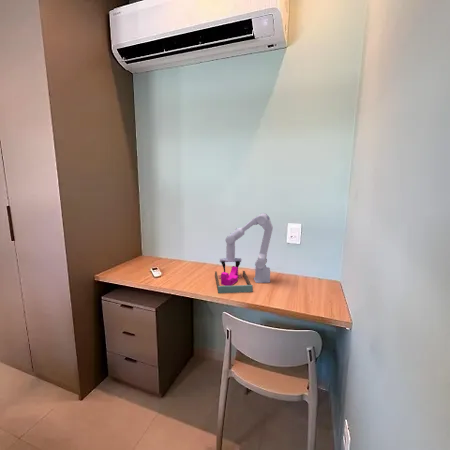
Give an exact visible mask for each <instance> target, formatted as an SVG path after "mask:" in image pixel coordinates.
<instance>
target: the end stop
mask: <svg viewBox="0 0 450 450" xmlns="http://www.w3.org/2000/svg"><path fill="white" fill-rule="evenodd" d="M253 286H254V285H252V284H251V285H247V284H244V285H243V284H237V285H234V284H233V285H231V286H225V285H220V286H218V290H217V293H218V294H233V293H234V294H236V293H253V291H254V290H253V288H254V287H253Z"/></svg>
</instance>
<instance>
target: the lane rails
mask: <svg viewBox="0 0 450 450" xmlns="http://www.w3.org/2000/svg"><path fill="white" fill-rule="evenodd" d="M218 275H219V274H218V272H217V271H214V278H215V283H216V290H217V291H218V286H221V284H220V279H219V277H218ZM242 277H243V279H244V281H245V284H246V285H252V283H251V281H250V279H249V276H248V275H247V273H246V271H245V270H242Z"/></svg>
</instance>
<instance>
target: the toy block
mask: <svg viewBox="0 0 450 450" xmlns="http://www.w3.org/2000/svg"><path fill="white" fill-rule="evenodd" d="M220 275H221V279H220V286H233V285H234V284H236V283H237V282H238V281H239V278H238V275H239V267H236V265H233V266H231V270H230V272H229V273H228V272H226V271H225V272H224V271H222V272H221V273H220Z"/></svg>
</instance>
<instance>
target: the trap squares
mask: <svg viewBox="0 0 450 450" xmlns="http://www.w3.org/2000/svg"><path fill="white" fill-rule="evenodd" d="M217 275H218V280H221V274H217ZM238 279H244V277H243V274H238Z"/></svg>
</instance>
